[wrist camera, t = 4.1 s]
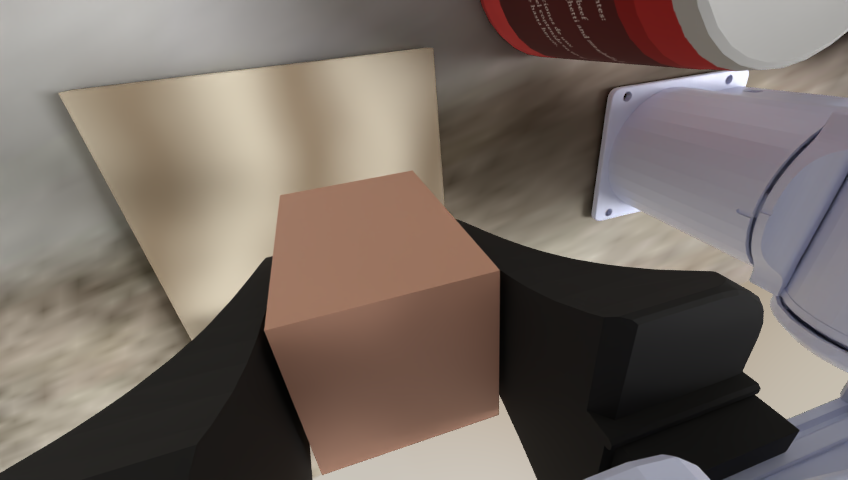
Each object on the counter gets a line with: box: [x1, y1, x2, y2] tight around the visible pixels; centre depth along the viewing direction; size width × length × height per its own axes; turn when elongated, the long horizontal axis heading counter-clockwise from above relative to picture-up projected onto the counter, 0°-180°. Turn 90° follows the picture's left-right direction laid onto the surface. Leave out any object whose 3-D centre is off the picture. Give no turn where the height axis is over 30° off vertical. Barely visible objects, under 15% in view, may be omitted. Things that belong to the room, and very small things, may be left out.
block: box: [264, 170, 500, 475], centre depth 10 cm, size 4×4×6 cm
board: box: [58, 48, 445, 341], centre depth 19 cm, size 14×20×3 cm
